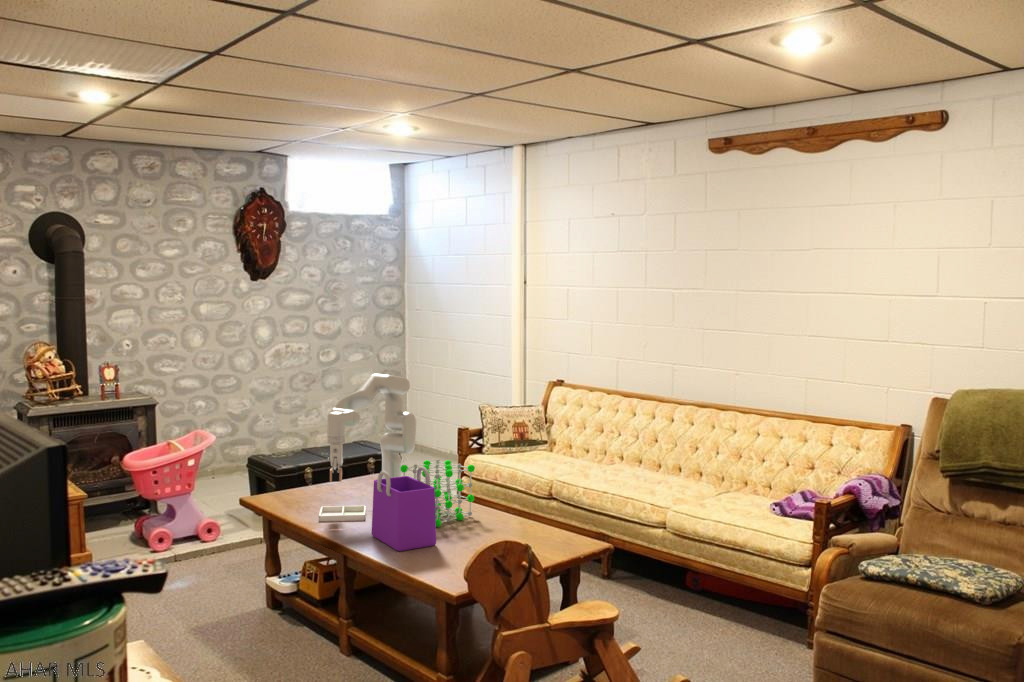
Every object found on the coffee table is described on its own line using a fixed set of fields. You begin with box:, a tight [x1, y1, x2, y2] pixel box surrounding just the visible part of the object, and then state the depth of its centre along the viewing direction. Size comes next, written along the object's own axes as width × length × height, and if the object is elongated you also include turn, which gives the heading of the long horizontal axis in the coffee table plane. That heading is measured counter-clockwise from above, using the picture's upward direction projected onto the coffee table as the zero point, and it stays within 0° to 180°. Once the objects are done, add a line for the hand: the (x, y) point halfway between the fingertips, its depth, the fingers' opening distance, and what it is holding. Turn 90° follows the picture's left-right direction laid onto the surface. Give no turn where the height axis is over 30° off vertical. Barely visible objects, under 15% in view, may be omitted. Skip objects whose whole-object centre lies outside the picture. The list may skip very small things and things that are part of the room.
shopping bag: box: [371, 466, 437, 552], centre depth 352 cm, size 28×22×30 cm
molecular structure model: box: [400, 458, 476, 528], centre depth 388 cm, size 24×25×24 cm
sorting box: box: [318, 505, 367, 522], centre depth 387 cm, size 20×16×3 cm
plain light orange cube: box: [329, 467, 343, 483], centre depth 385 cm, size 5×5×5 cm
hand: (336, 479), depth 385 cm, fingers closed on plain light orange cube, 4 cm apart
